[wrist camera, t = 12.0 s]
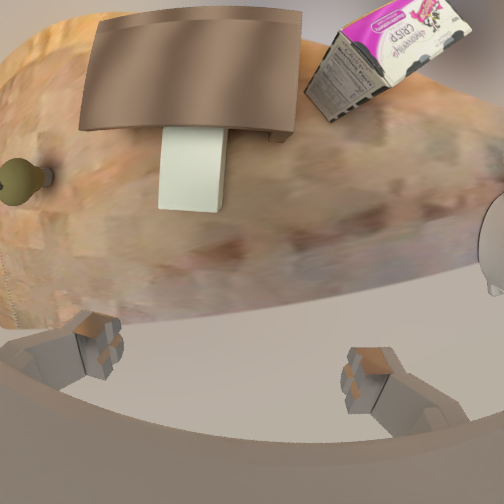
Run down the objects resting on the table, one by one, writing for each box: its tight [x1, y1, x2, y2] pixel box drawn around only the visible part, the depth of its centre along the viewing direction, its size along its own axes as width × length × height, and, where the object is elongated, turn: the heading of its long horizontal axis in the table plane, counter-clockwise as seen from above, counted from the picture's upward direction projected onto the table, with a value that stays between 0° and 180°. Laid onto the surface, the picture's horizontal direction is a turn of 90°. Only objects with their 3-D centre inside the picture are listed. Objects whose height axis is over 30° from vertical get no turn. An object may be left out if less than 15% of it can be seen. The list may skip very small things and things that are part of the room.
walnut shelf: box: [79, 6, 302, 143], centre depth 23 cm, size 18×11×10 cm, turn 85°
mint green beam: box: [158, 127, 229, 213], centre depth 27 cm, size 6×16×4 cm, turn 175°
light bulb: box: [0, 158, 53, 206], centre depth 26 cm, size 6×6×10 cm
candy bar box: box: [304, 0, 472, 123], centre depth 19 cm, size 11×5×16 cm, turn 132°
